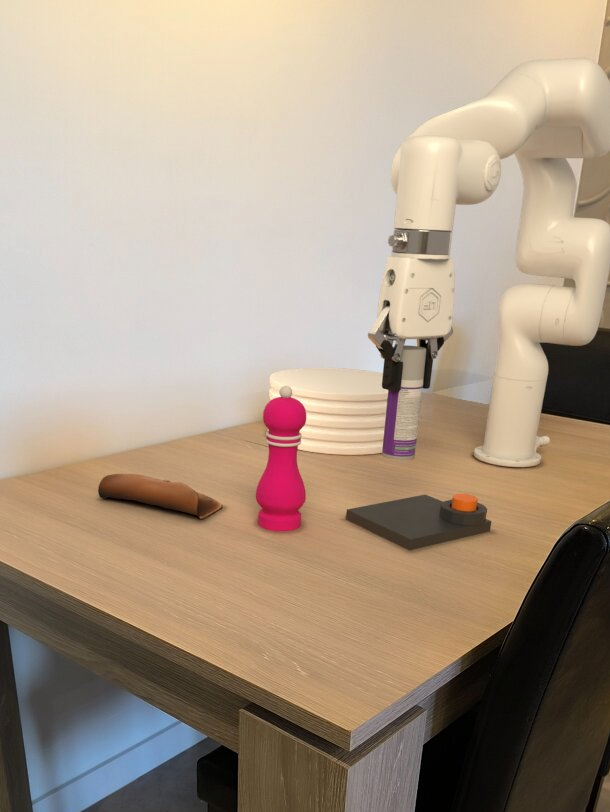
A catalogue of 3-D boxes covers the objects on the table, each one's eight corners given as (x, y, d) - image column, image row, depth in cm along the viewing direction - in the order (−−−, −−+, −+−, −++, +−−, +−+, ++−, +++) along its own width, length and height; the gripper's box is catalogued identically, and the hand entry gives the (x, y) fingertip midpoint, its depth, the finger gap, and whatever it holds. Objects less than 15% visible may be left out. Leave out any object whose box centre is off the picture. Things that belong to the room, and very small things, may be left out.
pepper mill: (299, 535, 117) (308, 392, 108) (249, 530, 118) (254, 388, 109) (307, 519, 123) (316, 383, 115) (260, 514, 124) (265, 378, 116)
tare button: (463, 503, 123) (465, 492, 122) (481, 510, 120) (483, 499, 120) (446, 507, 121) (447, 495, 121) (463, 514, 119) (465, 502, 118)
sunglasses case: (226, 503, 127) (215, 472, 121) (206, 537, 123) (194, 506, 118) (129, 483, 133) (115, 453, 128) (107, 515, 130) (92, 485, 125)
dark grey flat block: (425, 504, 132) (427, 483, 131) (492, 532, 122) (496, 509, 120) (345, 520, 124) (347, 497, 122) (410, 551, 113) (413, 527, 112)
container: (378, 451, 120) (389, 344, 114) (410, 451, 121) (422, 345, 114) (385, 460, 116) (396, 350, 110) (418, 460, 117) (431, 351, 110)
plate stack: (287, 415, 185) (289, 363, 180) (412, 428, 179) (418, 374, 174) (250, 445, 160) (252, 385, 156) (393, 461, 154) (400, 399, 149)
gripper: (390, 246, 99) (376, 398, 107) (488, 248, 108) (468, 389, 116) (351, 242, 105) (340, 388, 113) (447, 245, 114) (431, 379, 122)
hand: (405, 387), depth 114 cm, fingers closed on container, 4 cm apart
